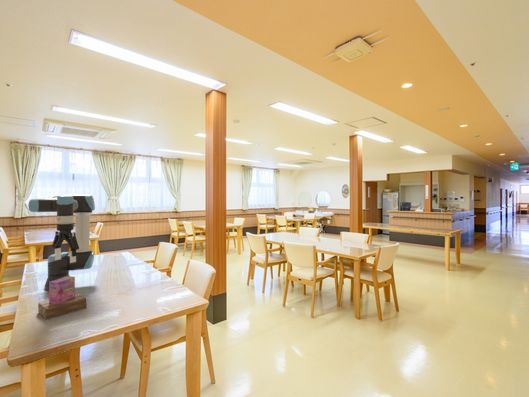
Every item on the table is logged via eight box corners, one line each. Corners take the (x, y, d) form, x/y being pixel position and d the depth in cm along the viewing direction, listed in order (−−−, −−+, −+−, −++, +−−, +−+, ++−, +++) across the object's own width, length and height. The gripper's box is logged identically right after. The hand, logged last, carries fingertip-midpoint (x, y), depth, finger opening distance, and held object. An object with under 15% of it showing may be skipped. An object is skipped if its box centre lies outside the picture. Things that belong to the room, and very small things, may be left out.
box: (57, 304, 140) (57, 282, 140) (48, 303, 141) (48, 281, 141) (75, 297, 150) (75, 276, 150) (67, 296, 151) (67, 276, 151)
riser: (38, 313, 143) (38, 302, 143) (77, 302, 157) (77, 292, 157) (46, 320, 135) (46, 308, 135) (86, 308, 149) (86, 298, 149)
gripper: (44, 222, 149) (44, 260, 150) (72, 225, 140) (72, 265, 140) (59, 221, 156) (59, 257, 157) (86, 223, 147) (86, 261, 147)
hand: (65, 261), depth 148 cm, fingers open, 13 cm apart
